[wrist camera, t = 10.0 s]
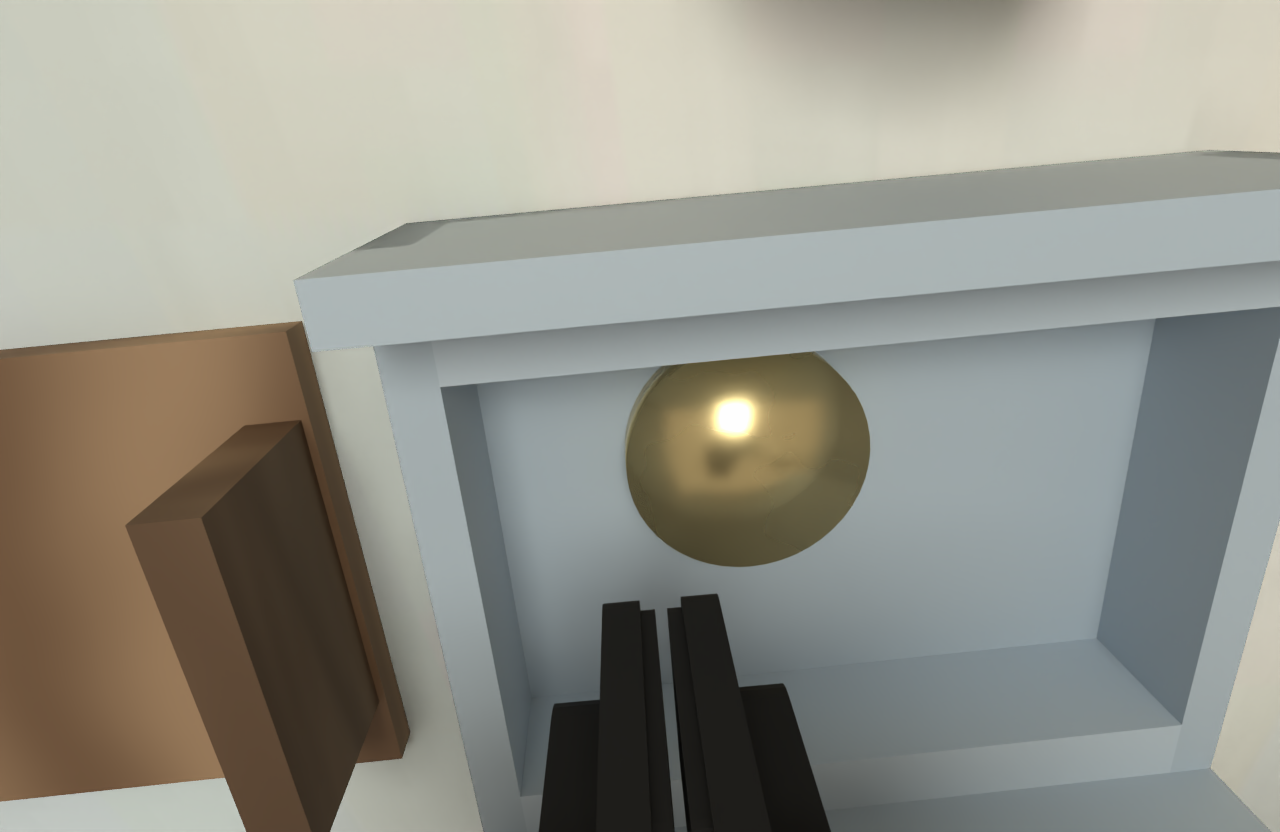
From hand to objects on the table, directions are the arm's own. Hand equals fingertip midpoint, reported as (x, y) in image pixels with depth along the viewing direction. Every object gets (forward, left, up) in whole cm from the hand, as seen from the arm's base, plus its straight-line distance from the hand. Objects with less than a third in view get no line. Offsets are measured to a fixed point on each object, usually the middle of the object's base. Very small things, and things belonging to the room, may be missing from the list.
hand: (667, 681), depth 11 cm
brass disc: (0, -3, -4) cm, 5 cm away
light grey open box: (-2, -3, -5) cm, 6 cm away
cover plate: (+8, +8, -5) cm, 13 cm away
